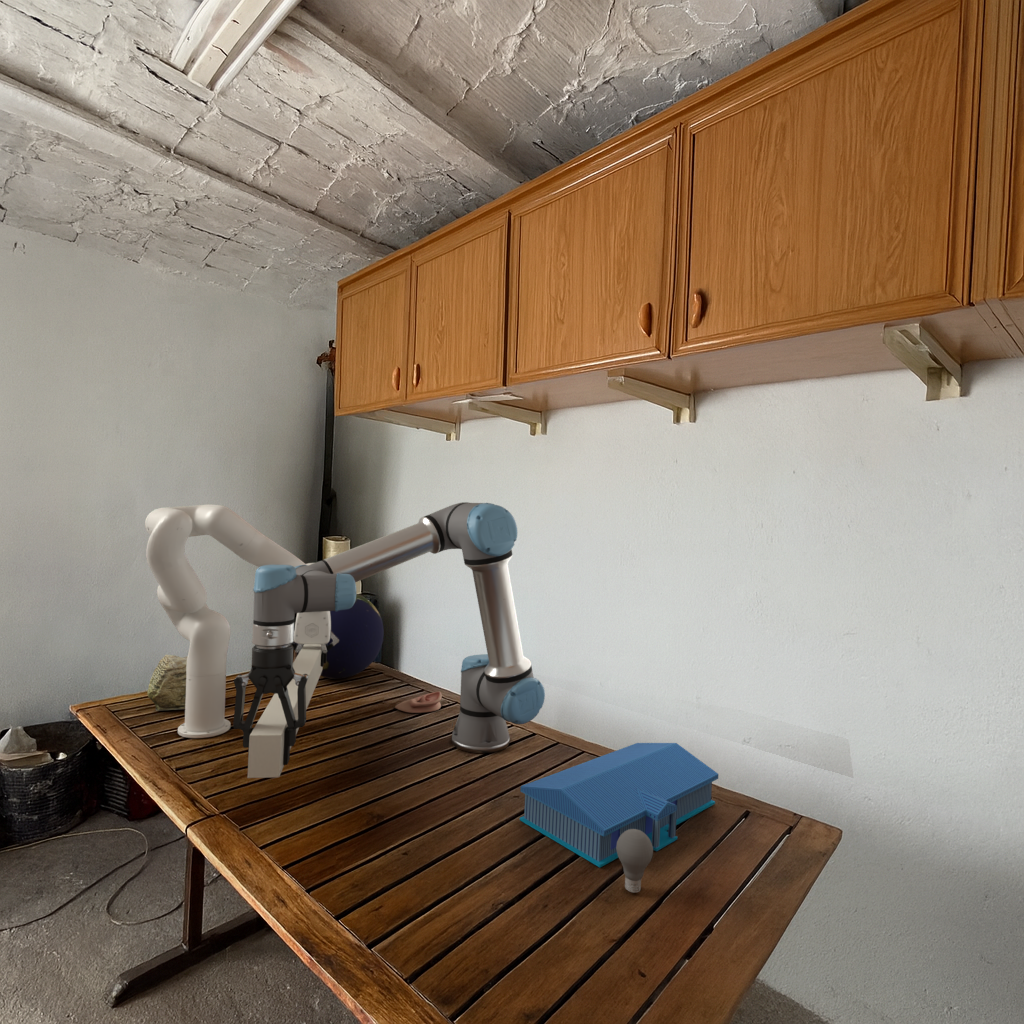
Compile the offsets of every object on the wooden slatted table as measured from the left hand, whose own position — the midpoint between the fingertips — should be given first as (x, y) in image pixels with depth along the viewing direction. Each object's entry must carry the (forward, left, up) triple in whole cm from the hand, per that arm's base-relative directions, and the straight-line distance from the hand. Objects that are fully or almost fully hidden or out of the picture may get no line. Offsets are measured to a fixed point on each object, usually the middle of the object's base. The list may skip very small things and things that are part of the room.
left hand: (311, 664), depth 188 cm
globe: (-27, +18, -13) cm, 35 cm away
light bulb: (+114, +20, -13) cm, 116 cm away
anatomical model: (+14, +29, -13) cm, 35 cm away
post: (+30, -13, -3) cm, 33 cm away
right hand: (+60, -26, -2) cm, 66 cm away
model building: (+94, +38, -13) cm, 102 cm away
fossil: (-17, -31, -13) cm, 38 cm away
